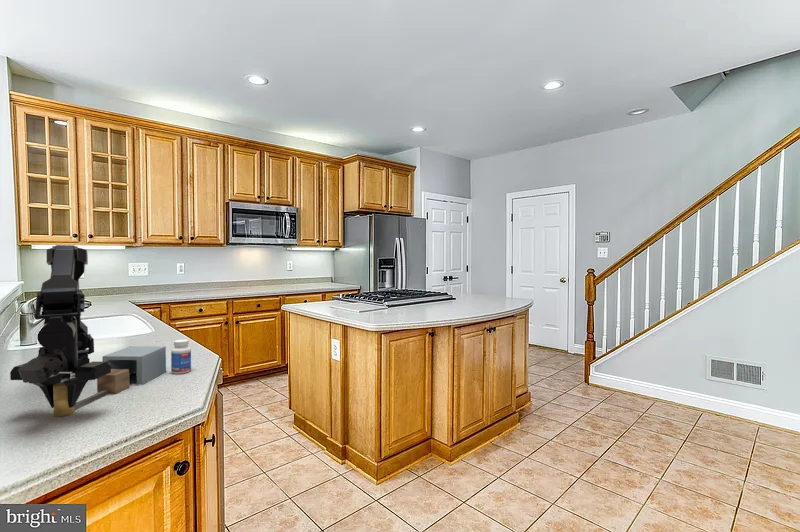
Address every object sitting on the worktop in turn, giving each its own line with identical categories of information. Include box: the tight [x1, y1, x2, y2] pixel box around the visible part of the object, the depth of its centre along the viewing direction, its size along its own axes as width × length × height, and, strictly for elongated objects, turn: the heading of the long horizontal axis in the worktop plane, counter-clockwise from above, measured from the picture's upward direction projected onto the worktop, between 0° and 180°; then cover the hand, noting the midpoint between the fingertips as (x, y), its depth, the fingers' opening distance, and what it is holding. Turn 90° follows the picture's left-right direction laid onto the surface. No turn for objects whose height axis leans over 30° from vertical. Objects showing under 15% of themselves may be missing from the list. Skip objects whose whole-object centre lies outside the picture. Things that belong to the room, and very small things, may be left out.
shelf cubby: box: [101, 345, 167, 386], centre depth 116 cm, size 11×12×8 cm
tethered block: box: [53, 369, 130, 418], centre depth 99 cm, size 5×19×7 cm, turn 178°
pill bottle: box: [170, 338, 192, 375], centre depth 123 cm, size 6×5×10 cm
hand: (63, 407), depth 91 cm, fingers closed on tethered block, 4 cm apart
